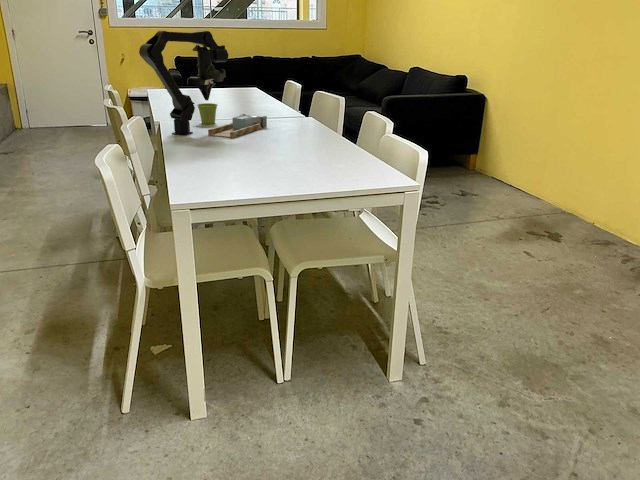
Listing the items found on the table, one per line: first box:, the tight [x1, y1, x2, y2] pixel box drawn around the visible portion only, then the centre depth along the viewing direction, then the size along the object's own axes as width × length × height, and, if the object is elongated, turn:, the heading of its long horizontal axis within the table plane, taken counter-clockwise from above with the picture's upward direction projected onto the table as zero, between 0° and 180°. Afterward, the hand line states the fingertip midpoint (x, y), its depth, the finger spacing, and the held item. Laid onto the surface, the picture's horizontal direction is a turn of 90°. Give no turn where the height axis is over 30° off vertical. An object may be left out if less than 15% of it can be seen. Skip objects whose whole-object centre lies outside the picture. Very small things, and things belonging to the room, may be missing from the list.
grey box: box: [231, 114, 254, 129], centre depth 237 cm, size 7×7×5 cm
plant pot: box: [196, 102, 218, 125], centre depth 249 cm, size 9×9×9 cm
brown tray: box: [207, 121, 262, 139], centre depth 232 cm, size 24×12×3 cm, turn 157°
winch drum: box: [240, 113, 268, 129], centre depth 245 cm, size 4×12×5 cm, turn 67°
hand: (206, 100), depth 229 cm, fingers closed
